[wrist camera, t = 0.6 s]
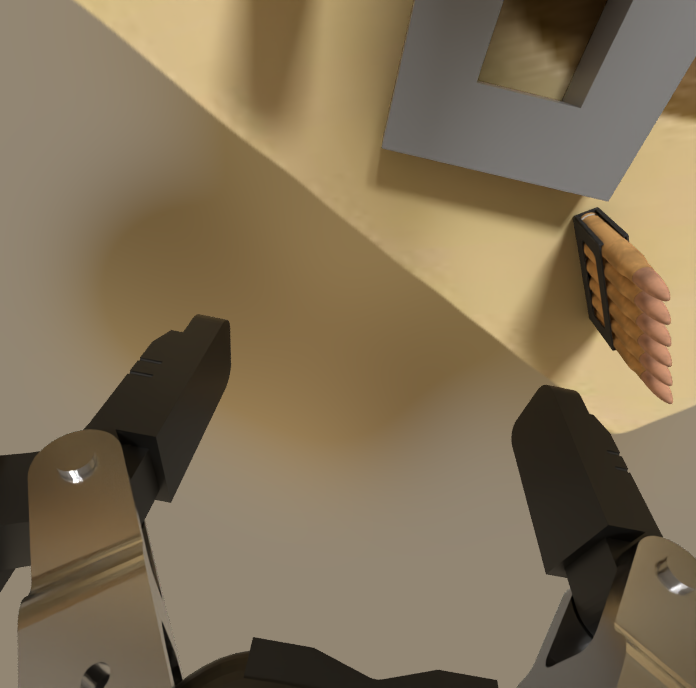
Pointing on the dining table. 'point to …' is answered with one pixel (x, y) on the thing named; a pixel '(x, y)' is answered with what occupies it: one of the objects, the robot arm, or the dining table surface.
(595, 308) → the ammunition clip
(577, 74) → the socket block
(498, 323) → the dining table surface
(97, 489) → the robot arm
